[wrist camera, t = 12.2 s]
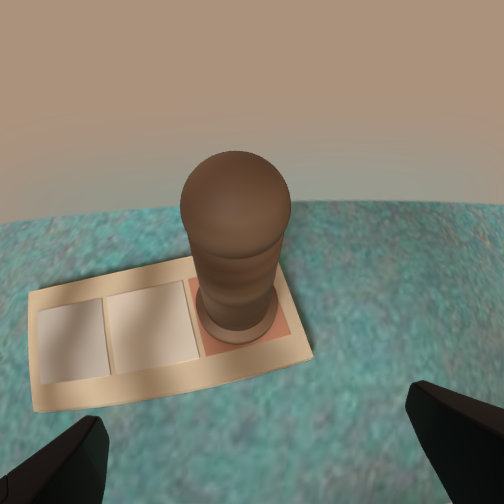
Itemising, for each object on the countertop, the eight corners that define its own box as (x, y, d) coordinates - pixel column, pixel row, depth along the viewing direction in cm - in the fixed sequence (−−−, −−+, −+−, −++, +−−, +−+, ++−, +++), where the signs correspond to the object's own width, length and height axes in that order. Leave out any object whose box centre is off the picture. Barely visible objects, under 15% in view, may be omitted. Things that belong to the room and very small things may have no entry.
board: (268, 245, 27) (270, 238, 26) (310, 359, 22) (313, 356, 21) (34, 297, 23) (28, 291, 22) (40, 412, 18) (33, 410, 17)
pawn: (292, 307, 23) (341, 171, 12) (235, 361, 21) (229, 259, 9) (238, 258, 25) (239, 107, 14) (181, 304, 23) (131, 166, 11)
